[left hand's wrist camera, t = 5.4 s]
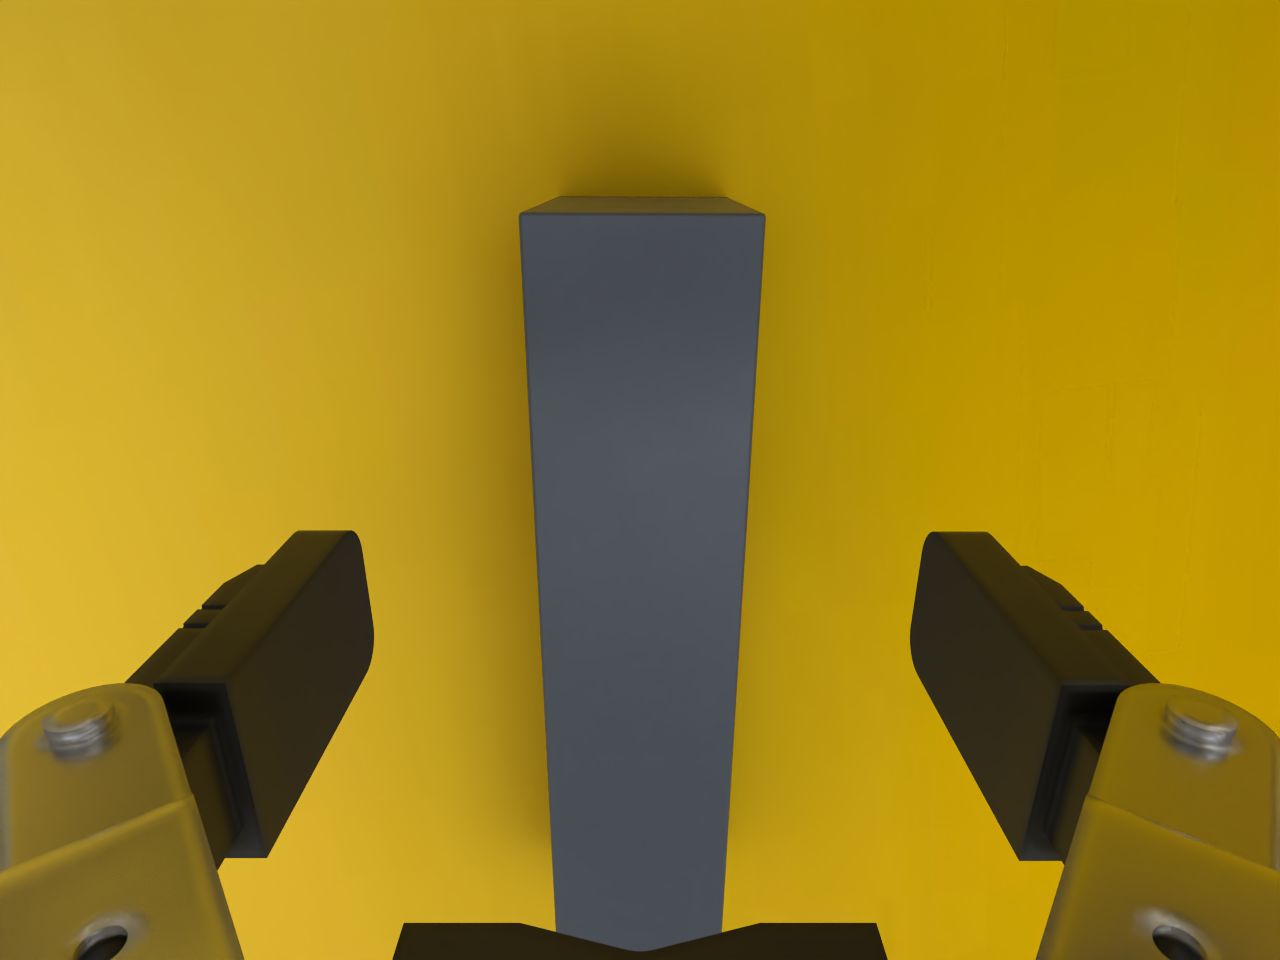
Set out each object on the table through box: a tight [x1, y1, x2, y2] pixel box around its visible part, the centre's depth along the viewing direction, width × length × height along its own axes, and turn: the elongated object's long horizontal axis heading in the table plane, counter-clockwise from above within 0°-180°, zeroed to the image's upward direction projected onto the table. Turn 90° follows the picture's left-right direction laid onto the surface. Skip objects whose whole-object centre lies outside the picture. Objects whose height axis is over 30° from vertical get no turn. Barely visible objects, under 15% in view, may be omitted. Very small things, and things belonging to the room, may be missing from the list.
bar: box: [519, 197, 766, 951], centre depth 26 cm, size 28×5×8 cm, turn 0°
